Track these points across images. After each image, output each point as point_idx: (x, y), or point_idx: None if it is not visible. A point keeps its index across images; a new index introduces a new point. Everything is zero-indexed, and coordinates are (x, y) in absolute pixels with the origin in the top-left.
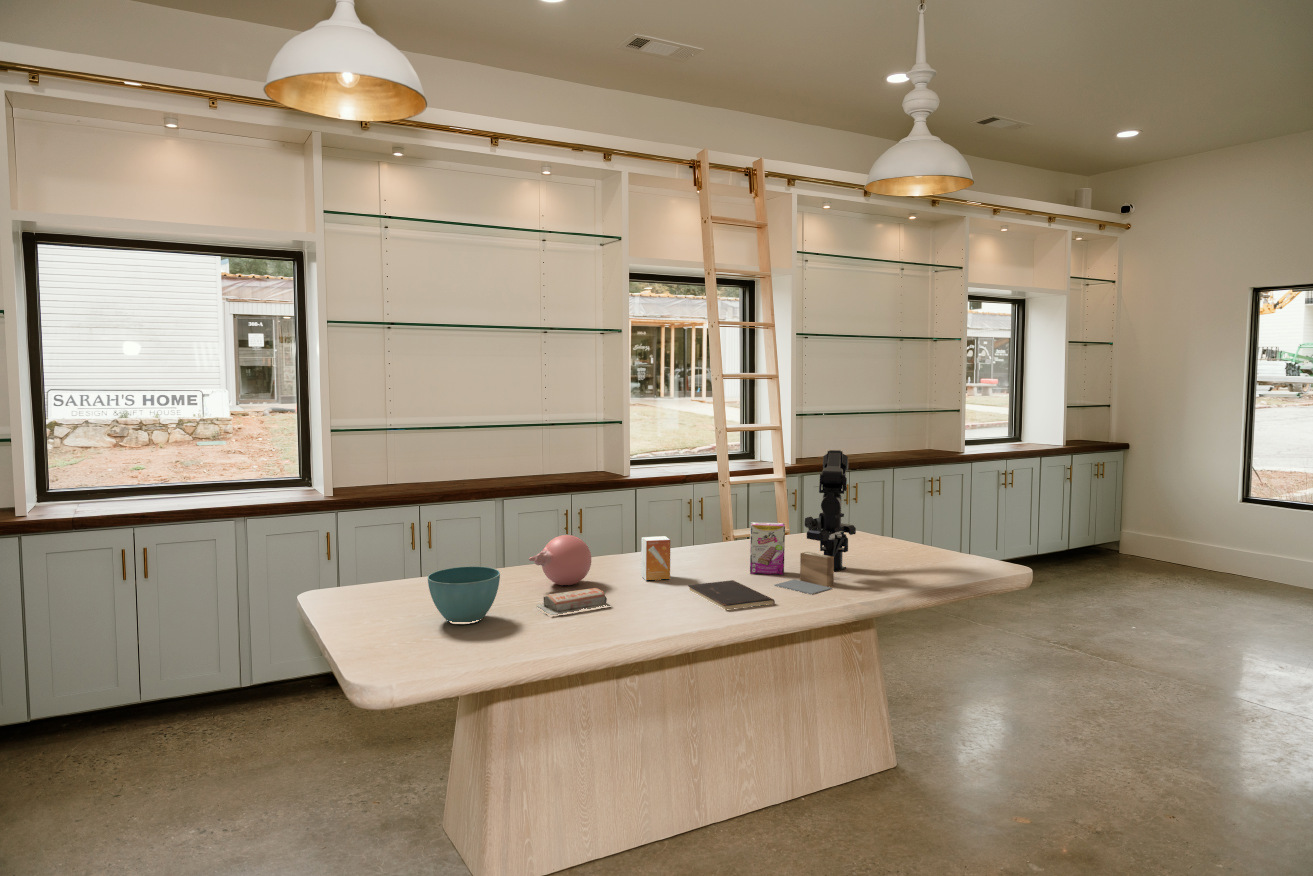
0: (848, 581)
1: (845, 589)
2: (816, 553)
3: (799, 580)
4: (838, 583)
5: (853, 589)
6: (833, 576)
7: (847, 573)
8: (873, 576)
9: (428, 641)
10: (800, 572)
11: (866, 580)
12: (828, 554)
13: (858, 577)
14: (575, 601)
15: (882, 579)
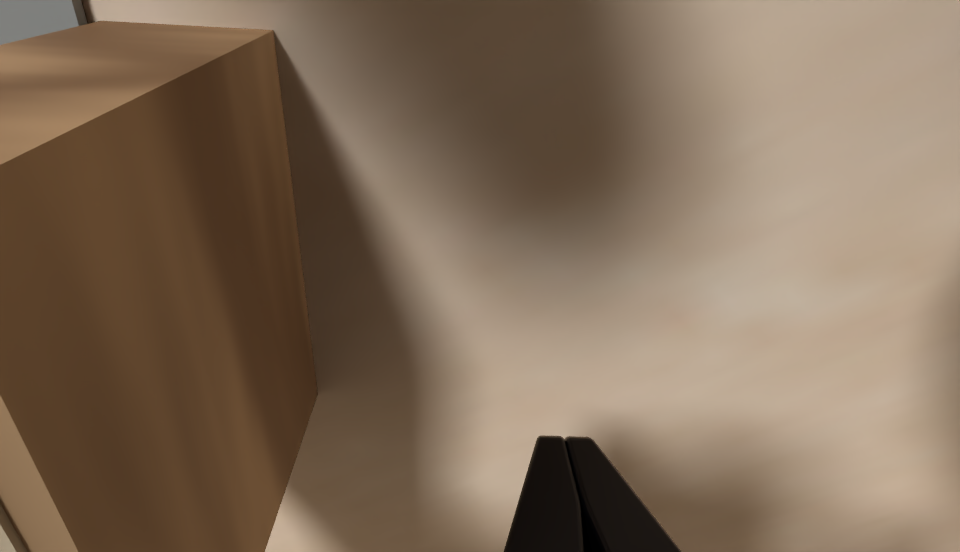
0: (577, 406)
1: (296, 506)
2: (56, 520)
3: (74, 21)
4: (430, 385)
5: (352, 537)
6: (287, 472)
7: (955, 233)
8: (922, 456)
9: None
10: (6, 49)
11: (722, 480)
12: (517, 517)
13: (805, 394)
14: None
15: (836, 534)
